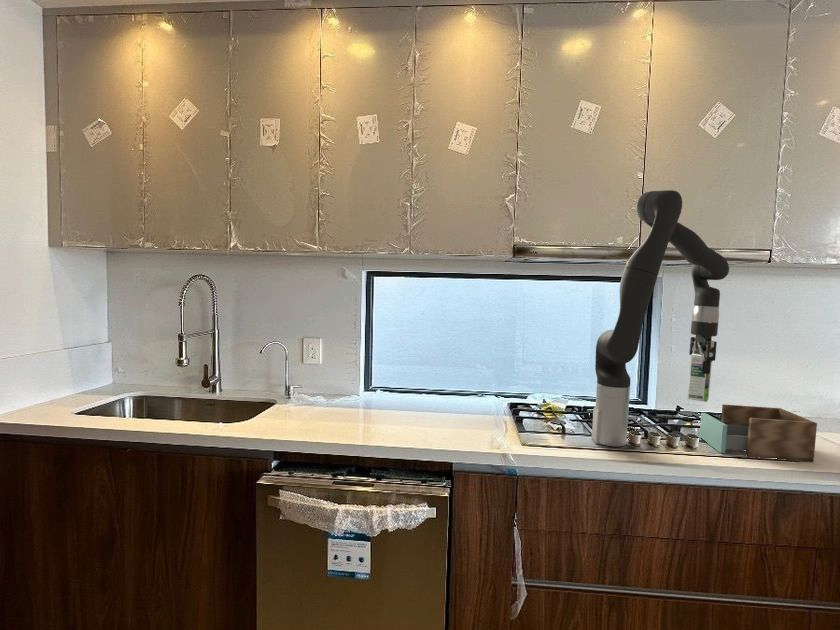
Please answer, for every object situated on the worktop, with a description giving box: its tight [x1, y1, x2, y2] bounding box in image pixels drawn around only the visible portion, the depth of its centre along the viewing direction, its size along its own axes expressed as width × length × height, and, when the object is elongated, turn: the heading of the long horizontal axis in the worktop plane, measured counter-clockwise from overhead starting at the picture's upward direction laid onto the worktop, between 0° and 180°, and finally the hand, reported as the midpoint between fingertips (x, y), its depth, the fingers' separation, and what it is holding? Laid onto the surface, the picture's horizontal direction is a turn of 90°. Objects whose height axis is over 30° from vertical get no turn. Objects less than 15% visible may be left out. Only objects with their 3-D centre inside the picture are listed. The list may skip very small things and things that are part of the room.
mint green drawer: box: [699, 412, 749, 454], centre depth 158 cm, size 14×15×8 cm
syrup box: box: [686, 353, 713, 403], centre depth 171 cm, size 6×6×14 cm
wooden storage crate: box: [720, 404, 818, 463], centre depth 157 cm, size 17×18×11 cm
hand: (700, 371), depth 171 cm, fingers closed on syrup box, 7 cm apart
